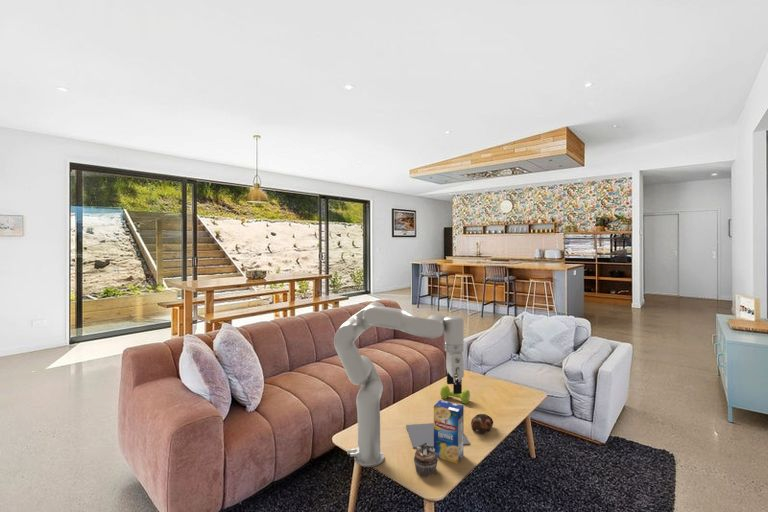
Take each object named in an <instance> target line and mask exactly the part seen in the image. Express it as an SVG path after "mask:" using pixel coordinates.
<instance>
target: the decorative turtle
mask: <svg viewBox="0 0 768 512" xmlns="http://www.w3.org/2000/svg"><path fill="white" fill-rule="evenodd" d="M470 424H471V431H473V432H476V431H478V432H479V433H480V434H481V435H483V436H484V435H486V433H490V431H491V429H492V428H493V425H494V420H493V418H492V417H491V416H489V415H488V414H485V413H478V414H476V415H475V416H473V417H472V419H471V422H470Z"/></svg>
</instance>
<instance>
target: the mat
mask: <svg viewBox="0 0 768 512" xmlns="http://www.w3.org/2000/svg"><path fill="white" fill-rule="evenodd" d="M405 428H406V431H407V434H408V437H409V440H410V442H411V445H412V449H415V450H417V447H418V446H419V445H422V444H424V443H427V444H428V445H429V446H430V447H433V448H434V422H430V423H414V424H406V425H405ZM463 446H471V443H470V441H469V439H468V438H467V436H466V434H465V433H464V436H463Z"/></svg>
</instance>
